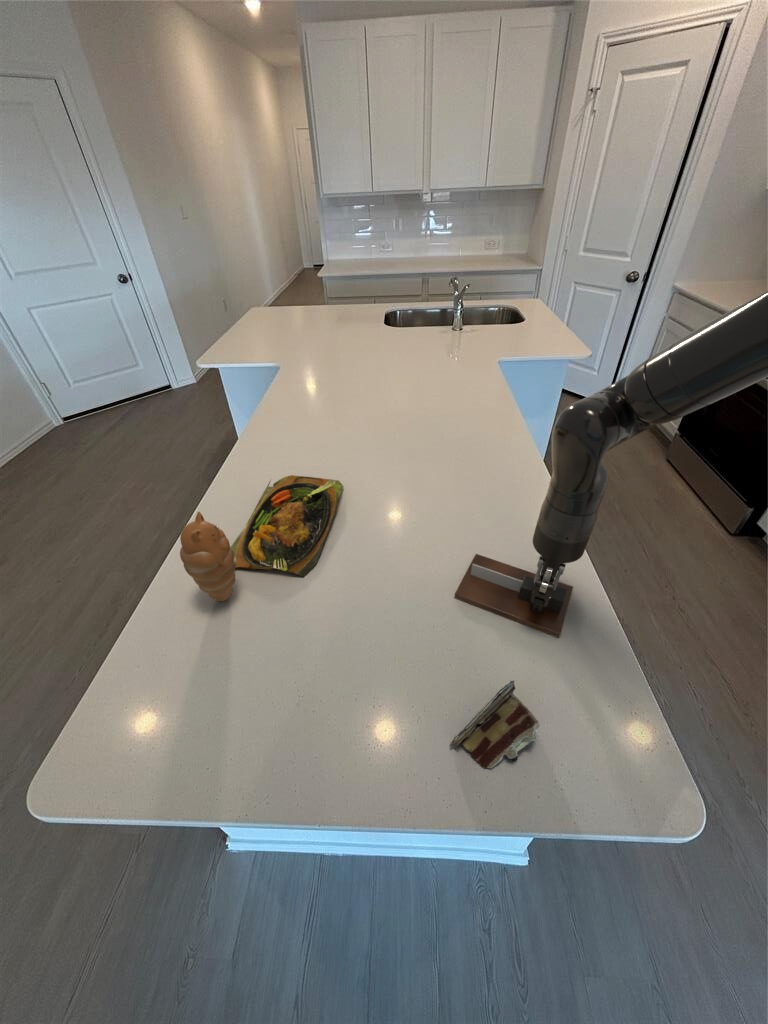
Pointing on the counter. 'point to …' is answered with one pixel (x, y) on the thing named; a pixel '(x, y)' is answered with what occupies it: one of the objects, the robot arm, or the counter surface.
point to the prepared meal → (288, 525)
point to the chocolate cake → (499, 729)
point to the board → (509, 597)
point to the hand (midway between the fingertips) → (540, 597)
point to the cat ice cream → (208, 558)
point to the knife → (520, 586)
